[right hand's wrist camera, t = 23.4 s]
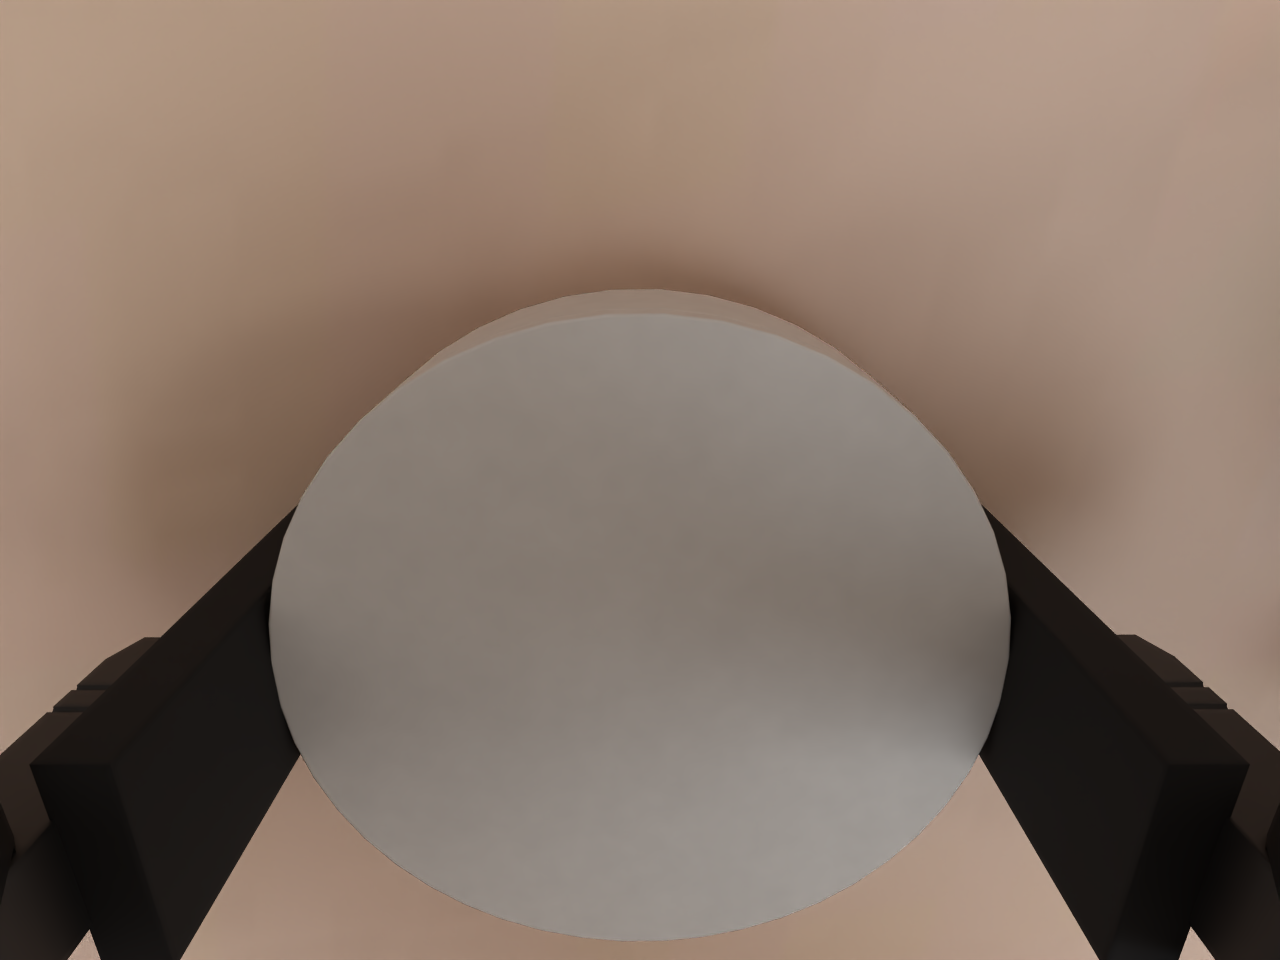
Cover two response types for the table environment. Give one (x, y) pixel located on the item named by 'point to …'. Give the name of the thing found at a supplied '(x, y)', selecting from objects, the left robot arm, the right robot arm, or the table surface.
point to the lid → (639, 620)
